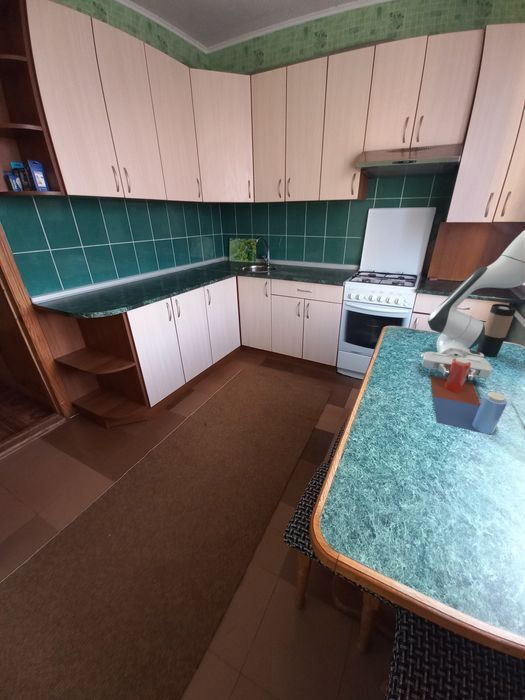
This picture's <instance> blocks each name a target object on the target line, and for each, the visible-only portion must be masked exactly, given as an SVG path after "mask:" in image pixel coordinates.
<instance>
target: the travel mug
mask: <svg viewBox="0 0 525 700" xmlns="http://www.w3.org/2000/svg"><path fill="white" fill-rule="evenodd" d="M516 311H517V308H514V307H513V306H512V305H509V304H505V303H504V304H503V303H493V304H492V305H491V307H490V309H489V312H488V316H487V318H486V320H485V322H484V325H485V335H484V337H483V339H482V340H481V341H480V343H479V344H477V346H476V350H475V351H476V352H479V353H482V354H484V357H487V358H494V357H495V358H496V357H497V356H498V355H499V352H500V350H501V348H502V346H503V344H504V341H505V340H506V337H507V335H508V333H509V329H510V327H511V324H512V322H513V319H514V316H515V314H516Z"/></svg>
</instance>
